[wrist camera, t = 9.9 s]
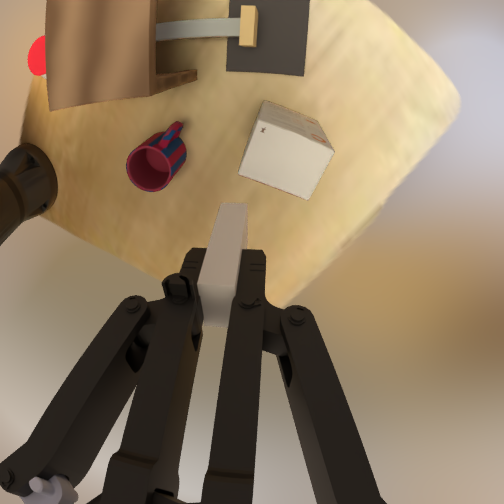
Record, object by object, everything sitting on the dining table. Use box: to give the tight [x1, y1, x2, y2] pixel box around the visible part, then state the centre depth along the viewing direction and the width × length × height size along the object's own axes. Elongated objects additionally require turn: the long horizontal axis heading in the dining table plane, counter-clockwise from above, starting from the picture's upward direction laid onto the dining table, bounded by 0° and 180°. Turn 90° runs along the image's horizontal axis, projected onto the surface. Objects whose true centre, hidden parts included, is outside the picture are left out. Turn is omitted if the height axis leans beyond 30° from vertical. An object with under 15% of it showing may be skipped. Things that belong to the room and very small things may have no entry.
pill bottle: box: [28, 35, 46, 79], centre depth 25 cm, size 8×8×11 cm
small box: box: [238, 100, 335, 201], centre depth 32 cm, size 8×6×13 cm
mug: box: [126, 121, 186, 192], centre depth 37 cm, size 7×10×7 cm
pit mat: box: [226, 0, 310, 77], centre depth 29 cm, size 10×12×1 cm
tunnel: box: [45, 0, 197, 112], centre depth 23 cm, size 20×14×16 cm
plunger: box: [156, 5, 258, 47], centre depth 26 cm, size 22×9×6 cm, turn 87°
